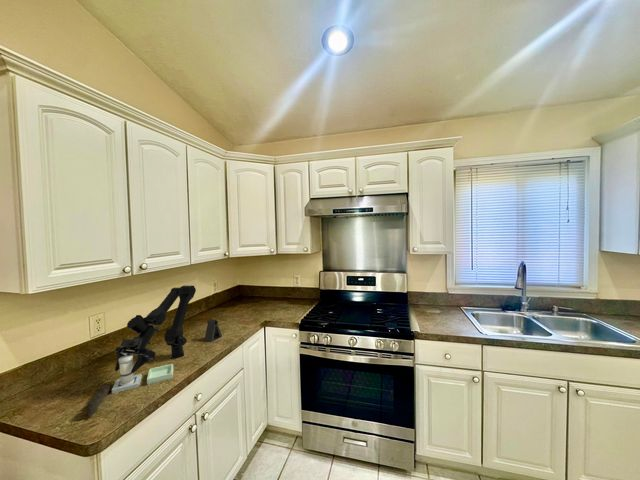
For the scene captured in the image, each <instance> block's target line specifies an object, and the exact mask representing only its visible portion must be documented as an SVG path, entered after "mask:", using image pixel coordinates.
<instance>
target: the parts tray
mask: <svg viewBox="0 0 640 480" xmlns="http://www.w3.org/2000/svg"><path fill="white" fill-rule="evenodd" d="M173 378H174V363H169V364H166V365H162V366H157V367H152V368H150V369H149V370H148V374H147V378H146V386H149V385H153V384H157V383H162V382H166V381H170V380H173Z"/></svg>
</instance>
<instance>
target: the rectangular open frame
mask: <svg viewBox="0 0 640 480" xmlns="http://www.w3.org/2000/svg"><path fill="white" fill-rule="evenodd" d="M142 377H143V376H142V373H139V374H134V381H135V383H133V384H128V385H124V386H120V382H121V379H120V378H118V379H116V380H115V382H114V384H113V385H112V390H111V394H116V393H119V392H123V391H124V392H125V391H128V390H132V389H136V388H139V387H140V384H141V382H142V381H141V380H142Z"/></svg>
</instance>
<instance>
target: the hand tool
mask: <svg viewBox="0 0 640 480" xmlns="http://www.w3.org/2000/svg"><path fill="white" fill-rule="evenodd" d="M112 388H113V385H112V384H111V383H103V384H101V385H100V387H99V390H98V391H96V392H95V396H94V397H93V398H92V399H90V400H89V402H87V404H86V412H87V418H88V419H89V418H91V417H92V416H93V415H95V413H96V412H97V411H98V409H99V406H100V404H102V403H103V401H104V399H105V398H106V396H107V395H108V394H109V392H112Z"/></svg>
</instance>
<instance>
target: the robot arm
mask: <svg viewBox="0 0 640 480" xmlns="http://www.w3.org/2000/svg"><path fill="white" fill-rule="evenodd" d="M196 292H197V289H196V286H195V285H182V286H179V287H173V288H171V289H170V291H169V293H168V294H167V295H166V296H165V298H164V299H163V301H161V303H160V304H159V305H158V306H157V308H155V309H153V310H152V311H151V312H149V313H148V314H147V315H146V316H145V317H143V316H142V315H141V314H136V315H135V316H134V317H132V318H131V319H130V320H128V322H127V324H126V327H127V328H128V329H129V330H131V331H132V332H134V333H136V334H138V335H137V336H135V337H133V338H131V339H130V338H128V339H127V338H122V340H121V342H120V345H118V346H116V347H115V350H113V351H114V352H115V354H116V356H117V359H116V363H115V367H114V372H118V371H120V364H119V358H120V357H123V356H126V355H135V356H136V355H137V357H136V358H137V359H136V360H135V362H134V364H133V368H132V371H131V373H133V374H134V373H135V372H137V371H138V370H139V369H140V368H141V367H143V365H145V364H146V363H147V362H150V361H151V360H154V359H155V357H156V351H154V350H152V349H150V348H147V346H148V345H149V346H150V345H151V339H152V337H153V335H154V334H155V333H156V334H157V333H159V332H160V331H159V328H158V326H160V325H162V324H163V323H164V321H166V318H167V313H168V311H169V310H170V308H171V307H172V306H173V305H174V304H175V302H176V301H177V299H178V298H179V303H178V306H177V309H176V312H175V315H174V318H173V322H172V324H171V326H170V328H168V327H167V328H166V330H165V333H164V338H163V339H164V341H165V343H166V345H167V346H170V351H171V352H170V359H171V360H172V359H176V358H181V357H184V356H185V351H184V346H185V344H187V340H188V339H187V338H186V337H184V336H183V335H184V331H183V325H184V321H185V317H186V314H187V310H188V307H189V304H190V301H191V300H192V299H193V298H194V296H195V294H196Z"/></svg>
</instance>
